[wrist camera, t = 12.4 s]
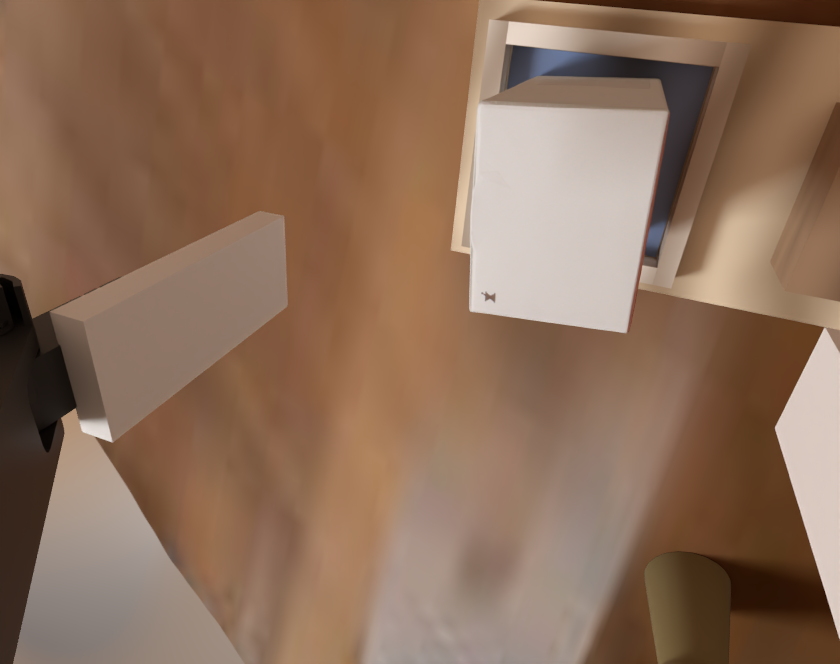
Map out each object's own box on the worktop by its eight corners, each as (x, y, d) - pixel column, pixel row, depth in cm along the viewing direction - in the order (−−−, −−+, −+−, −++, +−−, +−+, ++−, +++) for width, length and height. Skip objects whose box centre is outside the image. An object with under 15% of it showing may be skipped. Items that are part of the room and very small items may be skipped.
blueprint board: (1088, 49, 24) (1185, 55, 20) (917, 337, 31) (960, 388, 27) (485, -4, 30) (458, -8, 26) (456, 244, 37) (430, 272, 33)
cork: (653, 608, 46) (654, 753, 37) (635, 552, 44) (632, 691, 35) (738, 610, 43) (761, 768, 34) (723, 550, 41) (744, 700, 32)
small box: (636, 232, 32) (629, 340, 21) (523, 222, 34) (464, 315, 23) (665, 74, 28) (673, 107, 17) (535, 72, 30) (471, 100, 19)
